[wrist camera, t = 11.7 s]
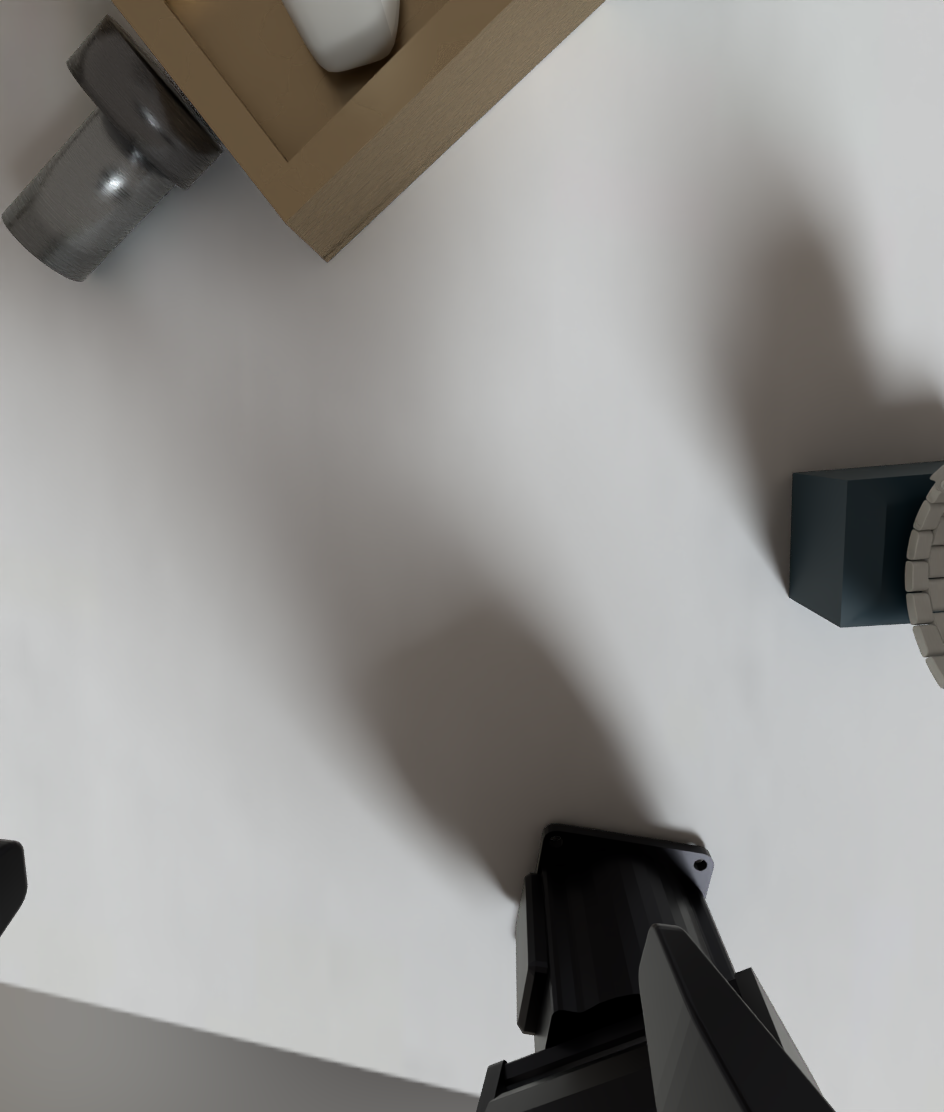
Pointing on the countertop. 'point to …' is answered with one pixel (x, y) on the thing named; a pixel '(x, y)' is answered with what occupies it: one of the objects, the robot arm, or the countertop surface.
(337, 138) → the square brown wooden tray
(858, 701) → the countertop surface
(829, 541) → the rubber stamp
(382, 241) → the countertop surface
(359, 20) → the white bottle
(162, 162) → the input shaft
